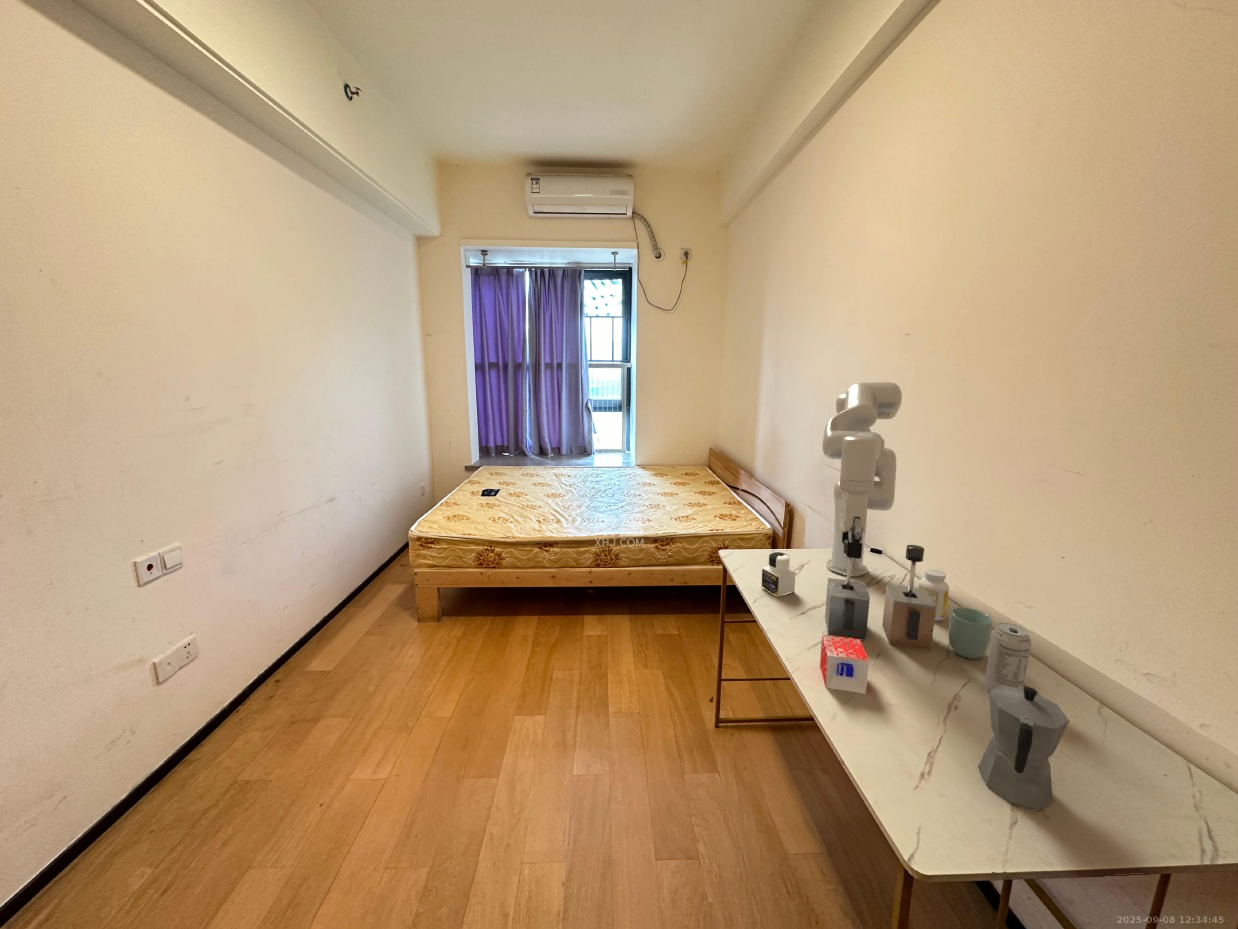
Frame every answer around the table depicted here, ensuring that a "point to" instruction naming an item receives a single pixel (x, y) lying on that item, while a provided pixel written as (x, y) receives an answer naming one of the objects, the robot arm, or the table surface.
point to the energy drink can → (1007, 656)
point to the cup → (969, 632)
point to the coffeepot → (1022, 745)
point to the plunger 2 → (913, 563)
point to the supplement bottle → (936, 590)
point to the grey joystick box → (847, 609)
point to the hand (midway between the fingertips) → (850, 550)
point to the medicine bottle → (778, 575)
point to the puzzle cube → (844, 664)
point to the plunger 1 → (848, 565)
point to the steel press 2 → (908, 617)
